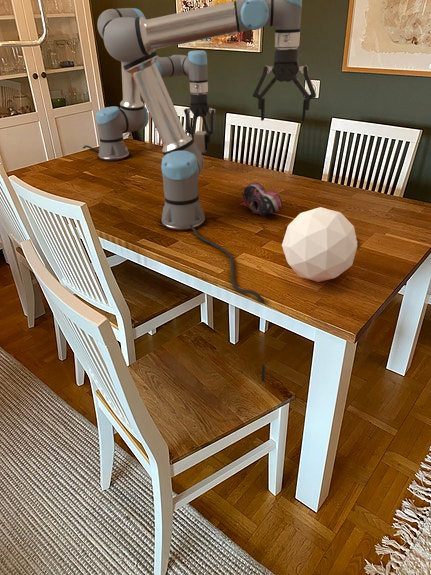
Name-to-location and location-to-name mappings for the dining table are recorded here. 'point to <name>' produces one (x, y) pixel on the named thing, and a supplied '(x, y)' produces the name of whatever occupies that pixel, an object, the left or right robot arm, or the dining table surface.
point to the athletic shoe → (261, 200)
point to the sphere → (320, 244)
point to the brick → (200, 140)
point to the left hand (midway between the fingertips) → (201, 149)
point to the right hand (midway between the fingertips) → (282, 120)
